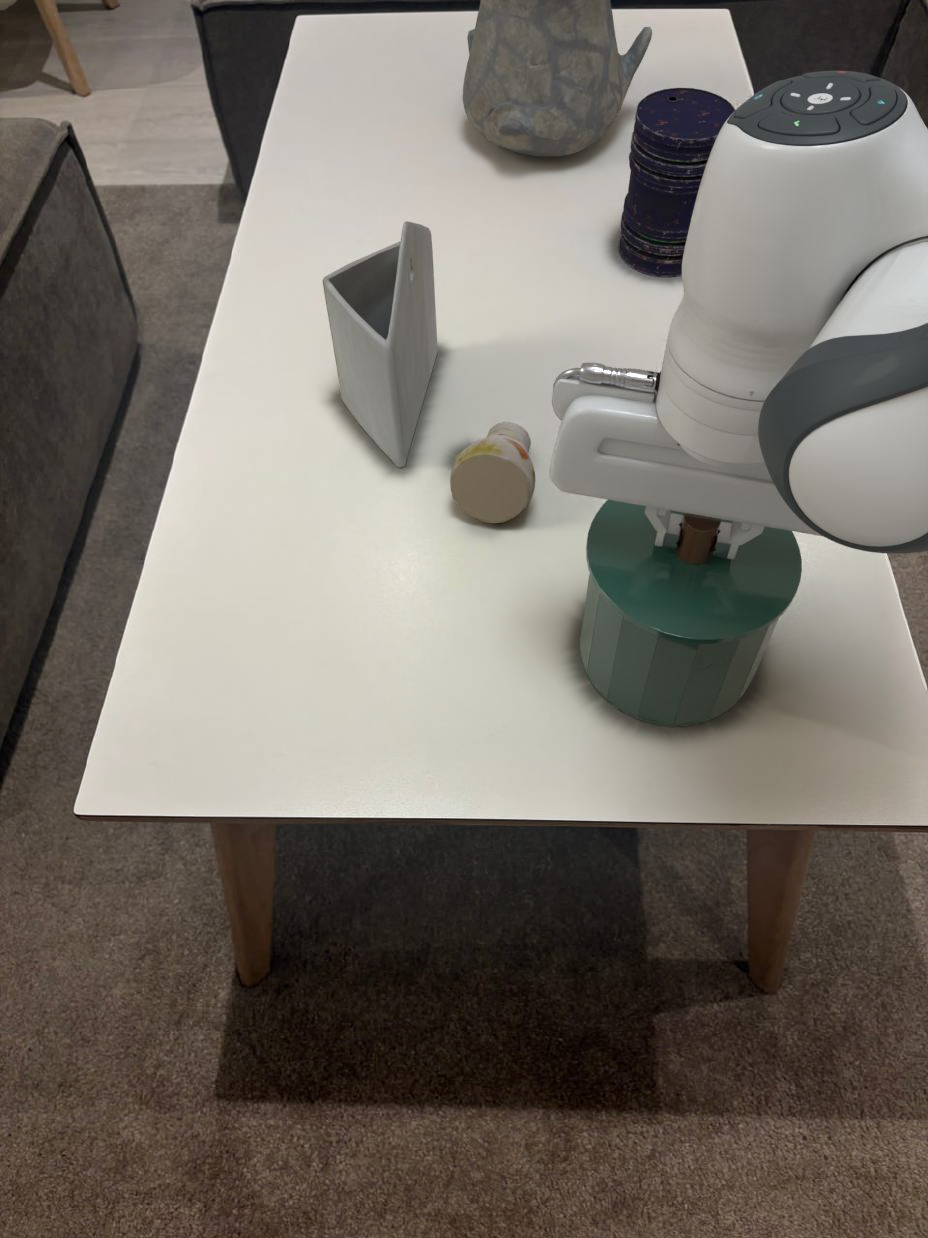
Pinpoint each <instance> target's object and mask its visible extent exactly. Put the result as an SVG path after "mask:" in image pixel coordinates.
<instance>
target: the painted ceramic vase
mask: <svg viewBox="0 0 928 1238" xmlns="http://www.w3.org/2000/svg"><path fill="white" fill-rule="evenodd" d="M531 441H532V440H531V436H530V434H529V432H528V431H527V429H525V427H523V426H521V425H519V424H518V423H515V422H511V421H502V422H498V423H496V424H495V425H494V426H493V425H492V427H491V428H490V429H489V431H488V432H487V435H486V437H483V438H481V439H478V440H476V441H474V442H472V443H470V444H469V445H468V446H466V448H464V449H463V450H461V451H460V452H458V454H457V455H456V456H455V459H454V463H453V465H452V469H451V472H450V479H449V483H450V485H449V486H450V493H451V495H452V498H453V500H454V501H455V503H456V505H457V506H458V508H459V510H460V511H461V512H463V513H464V514H466V515H468V516H470V517H472V518H474V519H476V520H477V521H479V522H482V523H486V524H499V523H500V524H501V523H504V522H508V521H510V520H512V519H514V518H516V517H517V516H518V515H520V514H521V513H522V512H523V511H524V510H525V509H526V508H527V507H528V506H529V504H530V501H531V499H532V498H533V495H534V491H535V488H536V472H535V467H534V464H533V462H532V459H531V457H530V455H529V452H530V449H531V444H532V442H531Z"/></svg>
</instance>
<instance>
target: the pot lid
mask: <svg viewBox="0 0 928 1238" xmlns="http://www.w3.org/2000/svg"><path fill="white" fill-rule="evenodd" d="M645 508H646V506H642V505H636V504H630V503H625V502H619V501H613V500H607V499H606V501H605V502H604V503H603V504H601V507H599V509H598V511H597V512H596V513H595V515H594V517H593V519H592V521H591V523H590V525H589V526H590V527H589V528H588V529H589V530H588V533H587V538H586V544H585V545H586V546H585V555H586V557H585V558H586V565H587V568H588V572H589V573H590V575H591V577H592V580H593V582H594V584H595V586H596V588H597V589H598V591H599V593H600V594H601V595H602V597H603V598H604V599H605V601H606V602H607V603H608V604H609V605H610V606H611V607H612V608H613V609H614V610H615V611H616V612H617V613H619V614H620V615H621V616H622V617H624V618H625V619H626V620H628V621H629V622H631V623H633V624H634V625H636V626H637V627H639V628H641V629H643V630H645V631H647V632H649V633H652V634H654V635H657V636H660V637H663V638H666V639H670V640H674V641H678V642H685V643H692V644H718V643H726V642H731V641H736V640H740V639H743V638H746V637H749V636H751V635H754V634H756V633H758V632H760V631H762V630H764V629H765V628H767V627H768V626H770V625H771V624H773V623H774V622H775V621H776V620H777V619H778V618H779V619H780V618H781V617H782V616H783V614H784V613H785V612H786V611H787V610H788V608H789V607H790V606H791V604H792V603H793V600H794V599H795V597H796V594H797V592H798V589H799V586H800V583H801V578H802V574H803V573H802V572H803V562H802V560H803V559H802V553H801V549H800V546H799V543H798V540H797V538H796V536H795V534H794V531H789V530H783V529H777V528H771V527H764V529H763V532H762V533H761V534H760V535H758V536H756V537H755V538H753V539H751V540H750V541H748V542H746V543H744V544H743V545H739V547H738V550H737V553H736V556H735V559H734V560H733V559H728V558H722V557H717V556H712V550H713V547H714V544H715V541H716V537H717V534H718V531H719V527H720V524H721V522H726V523H732V522H733V521H730V520H724V519H718V518H712V517H707V516H701V515H695V514H689V513H683V512H677V511H671V510H670V511H671V513H674V514H679V515H683V518H682V524H681V531H680V536H679V540H678V544H677V548H676V549H673V548H667V547H660V546H655V540H656V535H657V531H656V530H655V528H654V527H653V525H652V524H651V522H650V521H649V519H648V517H647V516H646V514H645ZM779 619H778V620H779Z"/></svg>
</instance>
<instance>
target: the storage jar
mask: <svg viewBox="0 0 928 1238" xmlns="http://www.w3.org/2000/svg"><path fill="white" fill-rule="evenodd" d="M735 110H736V108H735V107H734V105H733V104H732V103H731V102H730V101H729V100H728V99H726V98H724V97H723V96H722V95H719V94H717V93H715V92H712V91H708V90H705V89H699V88H694V87H671V88H670V87H669V88H664V89H660V90H656V91H653V92H651V93H649V94H647V95H646V96H644V97H643V98H641V100H639V102H638V103H637V106H636V109H635V117H634V125H633V131H632V134H631V140H630V152H629V154H628V155H629V156H628V161H629V162H628V165H629V170H630V172H629V182H628V187H627V194H626V195H625V197H624V200H623V201H624V202H623V208H622V213H621V217H620V218H621V219H620V225H619V226H620V232H619V233H620V238H619V243H618V253H619V256H620V257H621V260H623V262H625V264H626V265H627V266H629V267H630V268H632V269H634V270H635V271H637V272H640V273H642V274H645V275H647V276H654V277H661V278H674V277H682V260H683V254H684V249H685V244H686V240H687V236H688V231H689V227H690V222H691V218H692V214H693V210H694V206H695V202H696V198H697V194H698V190H699V187H700V183H701V180H702V177H703V173H704V170H705V167H706V164H707V161H708V158H709V156H710V153H711V150H712V148H713V145H714V143H715V141H716V138H717V136H718V134H719V132H720V130H721V128H722V126H723V125H724V123H725V122H726V120H727V119H728V118H729V117H730V115H731V114H732V113H733V112H734V111H735Z"/></svg>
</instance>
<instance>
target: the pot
mask: <svg viewBox="0 0 928 1238" xmlns="http://www.w3.org/2000/svg"><path fill="white" fill-rule="evenodd" d="M779 619H780V617H779V618H778V619H777V620H776V621H775V622H774V623H773V624H771V625H770V626H768V627H767V628H765V629H764V630H762V631H760V632H758V633H756V634H754V635H751V636H749V637H746V638H743V639H740V640H736V641H731V642H726V643H718V644H692V643H685V642H678V641H674V640H670V639H666V638H663V637H660V636H657V635H654V634H652V633H649V632H647V631H645V630H643V629H641V628H639V627H637V626H636V625H634V624H633V623H631V622H629V621H628V620H626V619H625V618H624V617H622V616H621V615H620V614H619V613H617V612H616V611H615V610H614V609H613V608H612V607H611V606H610V605H609V604H608V603H607V602H606V601H605V599H604V598H603V597H602V595H601V594H600V593H599V591H598V589H597V588H596V586H595V584H594V582H593V580H592V577H591V575H590V572H589V574H588V581H587V588H586V595H585V601H584V610H583V617H582V623H581V631H580V637H579V649H580V656H581V662H582V666H583V668H584V672H585V673H586V675H587V677H588V679H589V681H590V683H591V685H593V687H594V688H595V690H596V691H597V692H598V693H599V694H600V695H601V696H602V698H603V699H605V700H606V701H607V702H608V703H609V704H610V705H611V706H613V707H614V708H616V709H617V710H619V711H620V712H622V713H624V714H626V715H627V716H630V717H632V718H634V719H636V720H639V721H642V722H645V723H648V724H653V725H657V726H664V727H686V726H693V725H699V724H703V723H706V722H709V721H712V720H714V719H716V718H719V716H722V715H723V714H725V713H726V712H728V711H729V710H730V709H732V707H734V706H735V705H736V704H737V703H738V702H739V700H741V698H742V697H743V695H744V694H745V693H746V691H747V689H748V687H749V685H750V684H751V683H752V681H753V679H754V677H755V675H756V673H757V671H758V668H759V666H760V663H761V661H762V659H763V656H764V654H765V652H766V649H767V647H768V645H769V642H770V641H771V638H772V635H773V634H774V631H775V628H776V626H777V624H778V622H779Z"/></svg>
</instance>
